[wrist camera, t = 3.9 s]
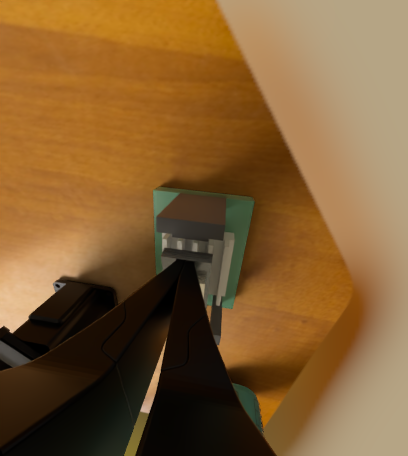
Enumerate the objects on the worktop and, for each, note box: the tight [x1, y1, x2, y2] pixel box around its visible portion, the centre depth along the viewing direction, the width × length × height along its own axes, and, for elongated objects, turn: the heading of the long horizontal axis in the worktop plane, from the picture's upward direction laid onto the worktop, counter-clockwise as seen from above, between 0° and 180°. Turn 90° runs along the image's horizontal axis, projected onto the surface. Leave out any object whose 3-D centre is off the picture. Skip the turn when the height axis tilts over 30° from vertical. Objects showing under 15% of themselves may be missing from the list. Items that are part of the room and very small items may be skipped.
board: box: [153, 187, 255, 345], centre depth 13 cm, size 10×7×6 cm
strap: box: [161, 248, 213, 308], centre depth 11 cm, size 8×2×1 cm, turn 175°
